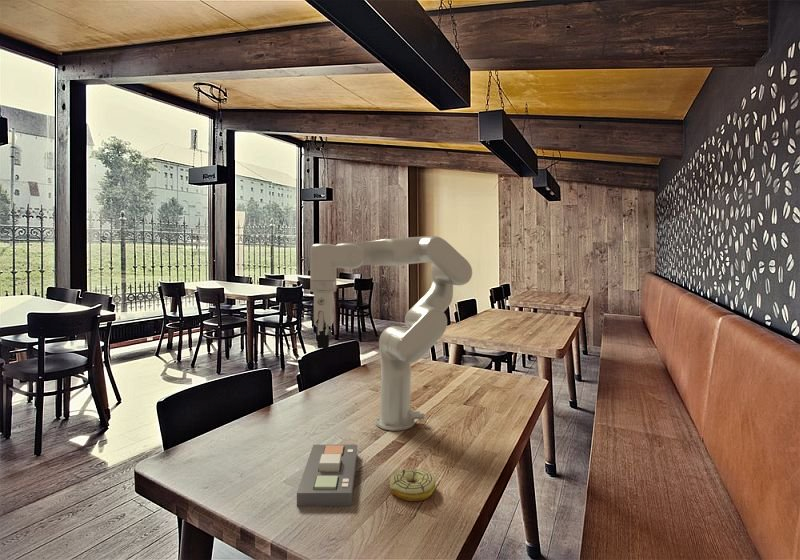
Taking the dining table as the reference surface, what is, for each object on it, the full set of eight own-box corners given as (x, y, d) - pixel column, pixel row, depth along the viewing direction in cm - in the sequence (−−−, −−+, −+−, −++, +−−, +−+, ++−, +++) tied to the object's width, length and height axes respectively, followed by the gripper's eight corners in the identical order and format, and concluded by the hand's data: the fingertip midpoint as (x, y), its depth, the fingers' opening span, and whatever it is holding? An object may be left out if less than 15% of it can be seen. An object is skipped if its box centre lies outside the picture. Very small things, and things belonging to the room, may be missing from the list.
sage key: (337, 487, 106) (337, 475, 106) (335, 499, 101) (335, 486, 101) (317, 488, 106) (317, 475, 106) (314, 499, 101) (314, 486, 101)
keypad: (357, 455, 124) (357, 443, 124) (351, 505, 100) (351, 491, 100) (313, 455, 123) (313, 443, 123) (296, 506, 100) (296, 492, 99)
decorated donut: (398, 477, 113) (398, 462, 113) (439, 484, 110) (440, 470, 110) (383, 498, 103) (383, 482, 103) (428, 508, 100) (429, 491, 100)
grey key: (340, 465, 114) (341, 453, 114) (339, 475, 109) (339, 463, 109) (321, 465, 114) (321, 453, 114) (319, 475, 109) (319, 463, 109)
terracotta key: (343, 456, 122) (343, 445, 122) (342, 464, 117) (342, 453, 117) (325, 456, 122) (325, 445, 122) (323, 464, 117) (323, 453, 117)
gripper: (333, 288, 125) (333, 354, 126) (338, 284, 139) (338, 342, 141) (306, 288, 124) (306, 354, 126) (314, 283, 139) (314, 342, 141)
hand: (323, 347), depth 133 cm, fingers closed
